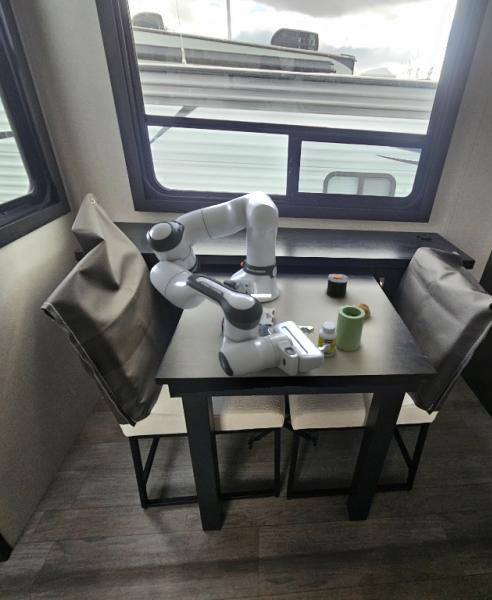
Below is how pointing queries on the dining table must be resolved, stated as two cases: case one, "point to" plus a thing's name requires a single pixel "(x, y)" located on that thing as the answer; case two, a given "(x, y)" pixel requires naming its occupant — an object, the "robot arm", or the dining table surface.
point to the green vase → (349, 327)
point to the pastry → (365, 308)
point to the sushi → (337, 285)
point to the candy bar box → (262, 322)
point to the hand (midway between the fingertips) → (320, 337)
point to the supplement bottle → (328, 337)
